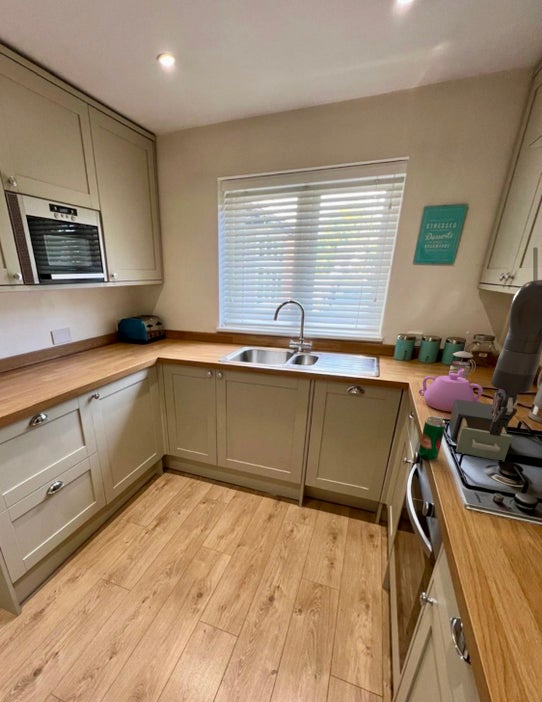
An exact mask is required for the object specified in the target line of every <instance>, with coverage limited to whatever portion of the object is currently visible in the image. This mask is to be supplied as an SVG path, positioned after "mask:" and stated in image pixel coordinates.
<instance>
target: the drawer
mask: <svg viewBox="0 0 542 702" xmlns="http://www.w3.org/2000/svg"><path fill="white" fill-rule="evenodd" d="M491 423H492V422H491V421H485V420H479V419H473V418H466V417H461V418H460V422H459V425H458V429H457V433H456V436H457V441H458V442H457V443H456V448H455V452H456V453H460V454H465V455H470V456H475V457H480V458H484V459H490V460H494V461H499V460H502V461H501V462H505V460H506V457H507V454H508V451H509V448H510V445H511V442H512V440H513V436H512V434H508V433H507V430H505V428H504V426H503V429H502V432H501V435H500V436H494V435H490V433H489V429H490V426H491ZM483 430H484V431H483Z"/></svg>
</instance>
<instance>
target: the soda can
mask: <svg viewBox="0 0 542 702" xmlns="http://www.w3.org/2000/svg"><path fill="white" fill-rule="evenodd" d="M446 425H447V424H446V420H445V419H443V418H441V417H436V416H428V417H427V418H426V420H425V421H424V424H423V428H422V429H423V430H422V432H421V433H422V434H421V437H420V438H421V439H420V442H419V447H418V452H417V454H418V456H419V457H420V458H421V459H423V460H425V461H435V460H438V457H439V454H440V451H441V445H442V443H443V438H444V435H445V430H446Z"/></svg>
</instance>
